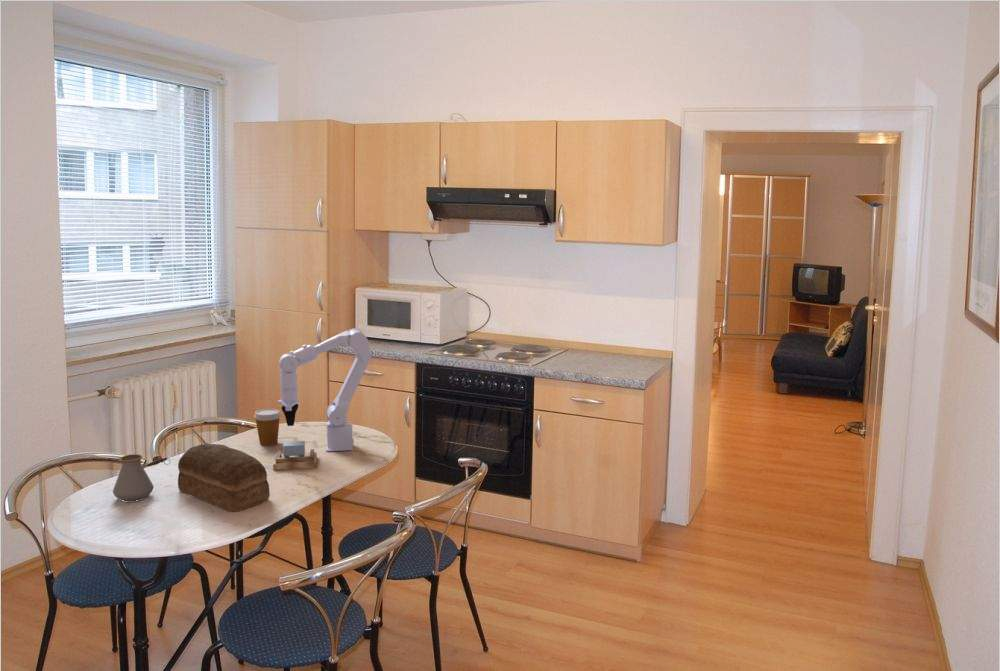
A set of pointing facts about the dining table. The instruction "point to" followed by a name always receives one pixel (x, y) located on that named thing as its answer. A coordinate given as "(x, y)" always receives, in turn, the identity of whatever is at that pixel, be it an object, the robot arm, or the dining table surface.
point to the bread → (223, 477)
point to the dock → (295, 461)
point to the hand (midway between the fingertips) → (290, 425)
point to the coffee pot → (133, 478)
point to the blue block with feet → (294, 449)
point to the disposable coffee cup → (267, 426)
